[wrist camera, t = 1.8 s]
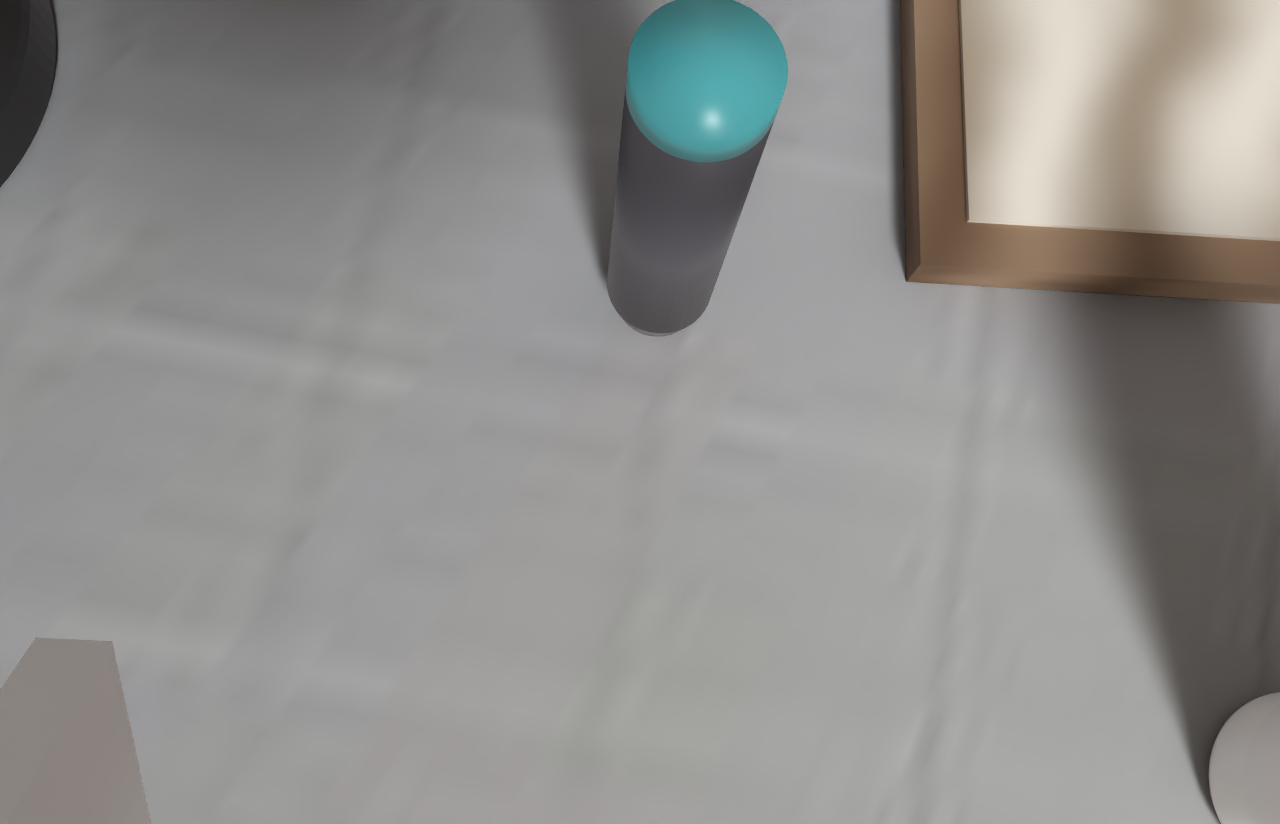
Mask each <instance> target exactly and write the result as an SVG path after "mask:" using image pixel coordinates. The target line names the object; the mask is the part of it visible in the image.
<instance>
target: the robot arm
mask: <svg viewBox="0 0 1280 824" xmlns="http://www.w3.org/2000/svg"><path fill="white" fill-rule="evenodd" d="M55 60H56V33H55V25H54V18H53V13H52V8H51V4H50V0H0V187H1V186H2V184H3V183H4V182H5V181H6V180H7V178H8V177H9V176H10V175H11V173H12V172H13V170H14V169H15V168H16V166H17V165H18V163H19V162H20V160H21V159H22V157H23V156H24V154H25V152H26V151H27V149H28V147H29V145H30V144H31V142H32V140H33V138H34V136H35V134H36V132H37V130H38V127H39V125H40V122H41V120H42V118H43V115H44V112H45V109H46V106H47V103H48V100H49V96H50V92H51V88H52V83H53V77H54V71H55ZM0 824H151V819H150V815H149V810H148V805H147V801H146V796H145V791H144V787H143V782H142V777H141V773H140V768H139V763H138V759H137V754H136V750H135V745H134V740H133V736H132V731H131V726H130V722H129V717H128V712H127V708H126V703H125V699H124V694H123V689H122V685H121V680H120V675H119V671H118V666H117V661H116V657H115V652H114V648H113V643H112V641H96V640H73V639H51V638H35V640H34V641H33V642H32V644H31V645H30V647H29V648H28V650H27V651H26V653H25V654H24V656H23V657H22V659H21V660H20V662H19V663H18V665H17V666H16V668H15V669H14V671H13V672H12V674H11V675H10V677H9V678H8V680H7V681H6V683H5V684H4V686H3V687H2V689H1V690H0Z"/></svg>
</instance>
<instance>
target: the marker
mask: <svg viewBox="0 0 1280 824" xmlns="http://www.w3.org/2000/svg"><path fill="white" fill-rule="evenodd" d="M787 76H788V66H787V59H786V54H785V51H784V48H783V45H782V43H781V41H780V39H779V37H778V35H777V34H776V32H775V31H774V29H773V28H772V27H771V26H770V25H769V23H768V22H767V21H766V20H765V19H764V18H762V17H761V16H760V15H759V14H758V13H756V12H755V11H753V10H752V9H750V8H749V7H747V6H745V5H743V4H741V3H739V2H736V1H733V0H675V1H672V2H670V3H668V4H666V5H664V6H662V7H660V8H659V9H657V10H656V11H654V12H653V13H652V14H651V15H650V16H649V17H648V18H647V19H646V20H645V21H644V22H643V23H642V24H641V26H640V27H639V29H638V30H637V32H636V34H635V36H634V38H633V41H632V43H631V47H630V51H629V58H628V68H627V79H626V89H625V100H624V110H623V121H622V131H621V141H620V152H619V162H618V173H617V183H616V194H615V204H614V215H613V225H612V236H611V246H610V257H609V267H608V277H607V288H608V294H609V297H610V300H611V302H612V304H613V306H614V308H615V309H616V311H617V312H618V313H619V315H620V316H621V317H622V318H623V320H624V321H625V322H626V323H627V324H628V325H629V326H630V327H631V328H633V329H634V330H636V331H638V332H640V333H642V334H645V335H649V336H666V335H670V334H673V333H675V332H677V331H679V330H681V329H684V328H686V327H687V326H689V325H691V324H692V323H693V322H695V321H696V320H697V319H698V318H699V317H700V316H701V315H702V313H703V312H704V311H705V309H706V307H707V305H708V303H709V300H710V297H711V295H712V292H713V289H714V286H715V283H716V281H717V278H718V275H719V272H720V270H721V267H722V264H723V261H724V258H725V256H726V253H727V250H728V247H729V244H730V242H731V239H732V236H733V233H734V231H735V228H736V225H737V222H738V219H739V217H740V214H741V211H742V208H743V205H744V203H745V200H746V197H747V194H748V192H749V189H750V186H751V183H752V180H753V178H754V175H755V172H756V169H757V166H758V164H759V161H760V158H761V155H762V153H763V150H764V147H765V144H766V141H767V139H768V136H769V133H770V130H771V127H772V125H773V122H774V119H775V116H776V114H777V111H778V108H779V105H780V102H781V100H782V97H783V94H784V91H785V88H786V83H787Z"/></svg>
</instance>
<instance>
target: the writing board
mask: <svg viewBox="0 0 1280 824" xmlns="http://www.w3.org/2000/svg"><path fill="white" fill-rule="evenodd" d="M900 15H901V60H902V104H903V149H904V193H905V238H906V282H921V283H938V284H955V285H972V286H989V287H1006V288H1023V289H1041V290H1058V291H1075V292H1092V293H1109V294H1126V295H1143V296H1160V297H1177V298H1194V299H1211V300H1228V301H1246V302H1263V303H1280V0H900Z"/></svg>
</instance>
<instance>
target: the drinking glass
mask: <svg viewBox="0 0 1280 824" xmlns="http://www.w3.org/2000/svg"><path fill="white" fill-rule="evenodd" d="M1209 787H1210V793H1211V798H1212V802H1213V805H1214V808H1215V811H1216V814H1217V816H1218V819H1219V821H1220V823H1221V824H1280V692H1276V693H1271V694H1267V695H1264V696H1261V697H1258V698H1256V699H1254V700H1252V701H1250V702H1248V703H1246V704H1245V705H1243V706H1242V707H1240V708H1239V709H1238V710H1237V711H1236V712H1235V713H1233V714H1232V716H1231V717H1230V718H1229V719H1228V720H1227V721H1226V723H1225V724H1224V725H1223V727H1222V728H1221V730H1220V732H1219V733H1218V735H1217V738H1216V740H1215V742H1214V745H1213V748H1212V752H1211V757H1210V763H1209Z"/></svg>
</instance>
